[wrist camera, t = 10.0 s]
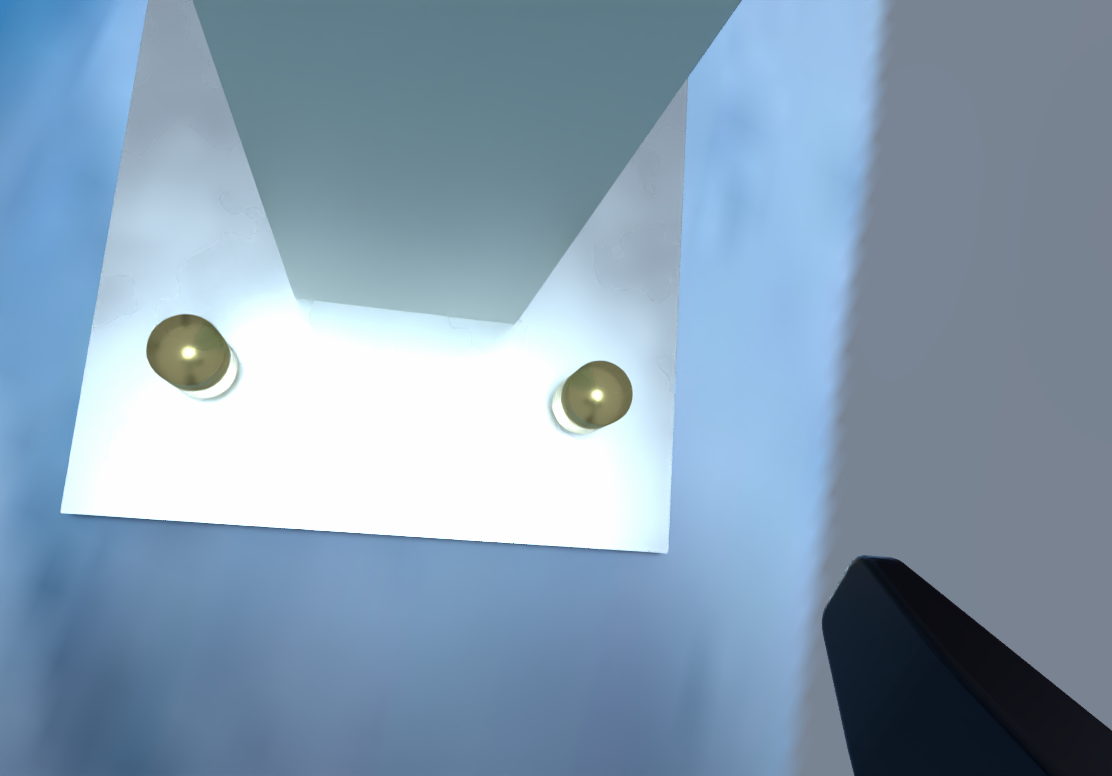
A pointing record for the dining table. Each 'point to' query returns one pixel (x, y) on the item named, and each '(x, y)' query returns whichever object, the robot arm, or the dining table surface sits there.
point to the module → (444, 134)
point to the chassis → (366, 357)
